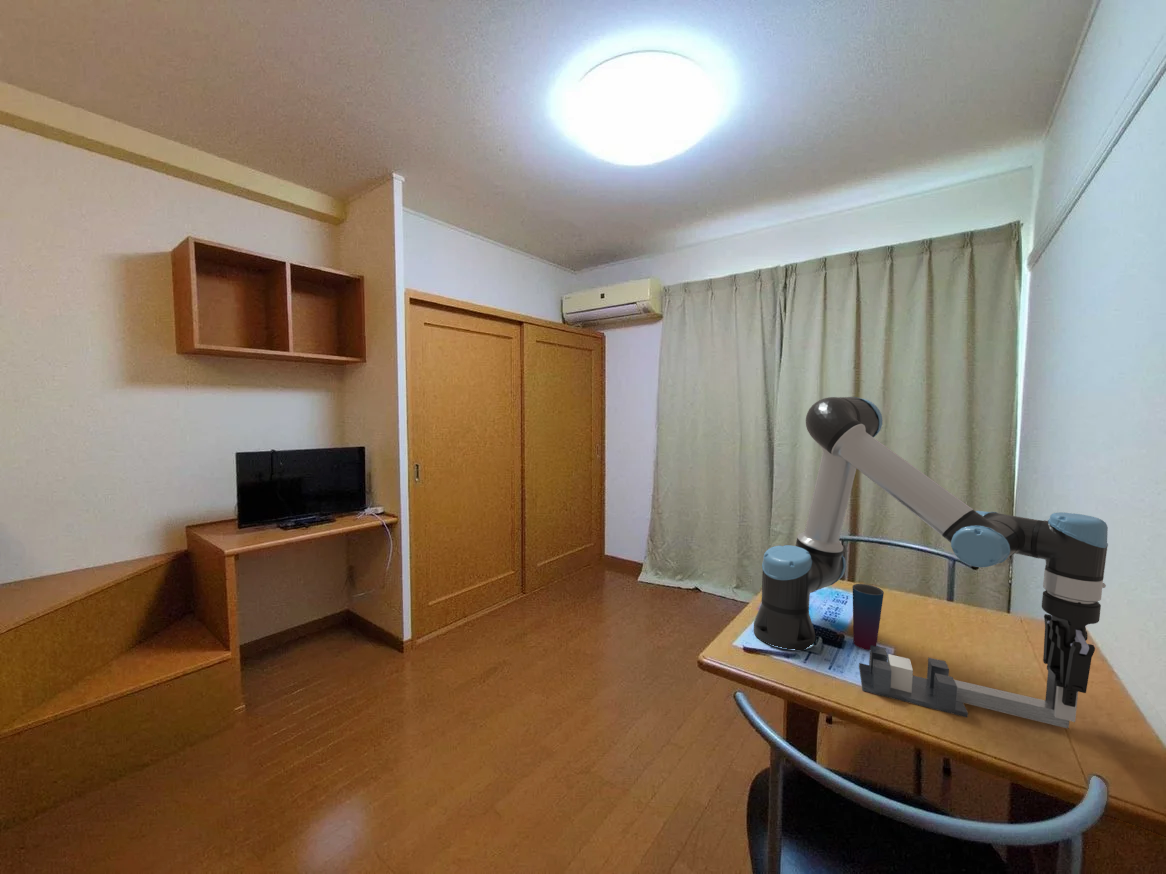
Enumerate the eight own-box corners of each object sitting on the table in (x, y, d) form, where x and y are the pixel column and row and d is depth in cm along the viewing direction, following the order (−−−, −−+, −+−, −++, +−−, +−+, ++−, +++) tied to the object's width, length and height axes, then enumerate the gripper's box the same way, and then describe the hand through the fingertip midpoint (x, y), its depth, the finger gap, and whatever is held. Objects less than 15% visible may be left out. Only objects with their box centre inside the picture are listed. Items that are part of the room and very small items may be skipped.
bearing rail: (862, 690, 99) (863, 664, 99) (859, 666, 108) (860, 642, 107) (967, 717, 91) (969, 689, 90) (954, 689, 100) (956, 663, 99)
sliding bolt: (937, 696, 96) (941, 651, 95) (934, 688, 98) (937, 644, 97) (1072, 729, 86) (1077, 679, 85) (1064, 719, 89) (1069, 671, 88)
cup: (885, 653, 114) (888, 595, 112) (855, 650, 115) (858, 593, 114) (873, 639, 120) (876, 585, 119) (845, 636, 122) (848, 582, 120)
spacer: (911, 692, 97) (888, 687, 99) (908, 680, 101) (886, 675, 103) (912, 670, 96) (890, 665, 98) (909, 658, 101) (888, 654, 103)
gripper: (1124, 618, 77) (1110, 747, 79) (1077, 584, 91) (1066, 694, 93) (1064, 608, 81) (1052, 732, 83) (1027, 577, 95) (1018, 684, 97)
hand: (1059, 712), depth 88 cm, fingers closed on sliding bolt, 3 cm apart
